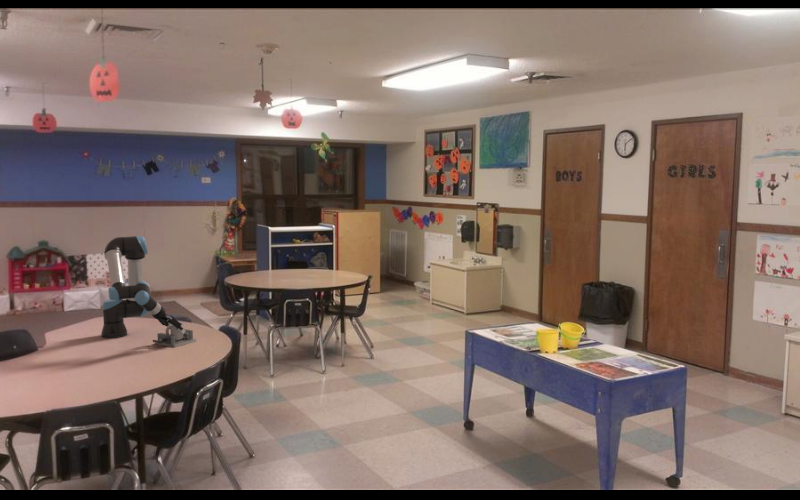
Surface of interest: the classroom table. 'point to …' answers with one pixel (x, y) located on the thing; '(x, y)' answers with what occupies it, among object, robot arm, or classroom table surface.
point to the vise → (170, 339)
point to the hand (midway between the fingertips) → (179, 331)
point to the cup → (175, 332)
